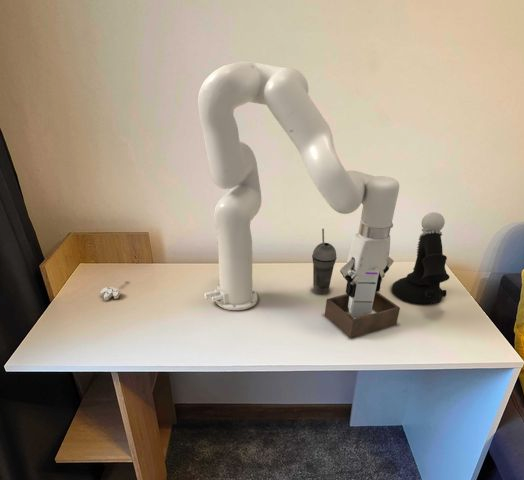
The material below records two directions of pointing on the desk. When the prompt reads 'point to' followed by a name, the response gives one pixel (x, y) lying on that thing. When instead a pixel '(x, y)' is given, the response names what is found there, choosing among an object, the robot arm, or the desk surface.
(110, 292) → the white flower stem
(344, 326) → the bin
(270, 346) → the desk surface
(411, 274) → the sculpture
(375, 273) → the syrup box
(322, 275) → the beverage cup
